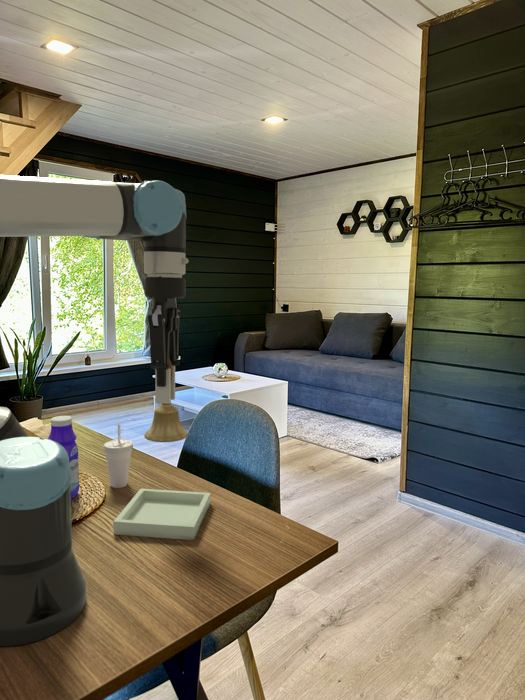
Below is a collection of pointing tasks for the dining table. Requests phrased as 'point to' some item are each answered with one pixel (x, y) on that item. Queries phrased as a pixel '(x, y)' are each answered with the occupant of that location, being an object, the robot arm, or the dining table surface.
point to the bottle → (67, 446)
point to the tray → (163, 514)
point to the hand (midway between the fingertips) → (165, 400)
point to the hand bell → (166, 423)
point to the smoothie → (118, 460)
